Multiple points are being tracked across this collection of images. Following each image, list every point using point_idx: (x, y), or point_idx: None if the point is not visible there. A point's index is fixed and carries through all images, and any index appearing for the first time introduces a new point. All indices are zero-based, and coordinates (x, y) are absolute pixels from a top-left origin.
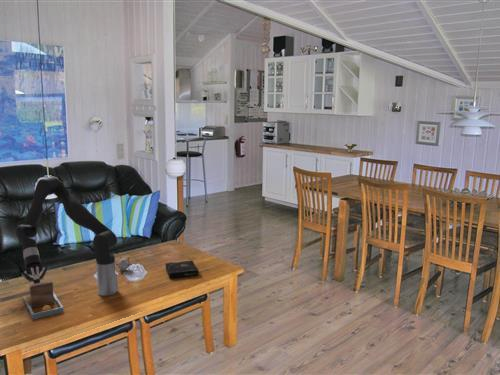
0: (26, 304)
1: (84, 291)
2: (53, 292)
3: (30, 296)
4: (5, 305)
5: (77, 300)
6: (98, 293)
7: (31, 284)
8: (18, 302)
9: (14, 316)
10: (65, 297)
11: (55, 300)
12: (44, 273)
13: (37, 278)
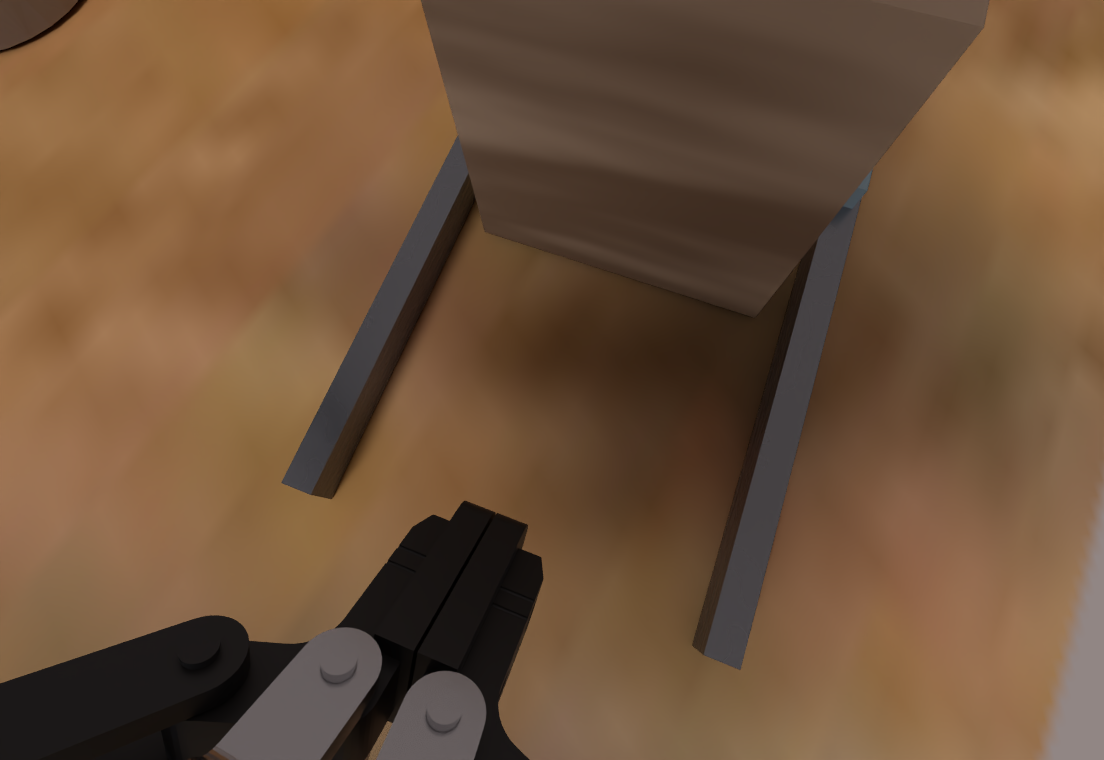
0: (820, 345)
1: (75, 183)
2: (339, 386)
3: (815, 238)
4: (1043, 680)
5: (310, 50)
6: (67, 3)
7: (921, 8)
8: (836, 606)
9: (1030, 224)
10: (323, 213)
11: (470, 194)
12: (10, 689)
13: (368, 669)
